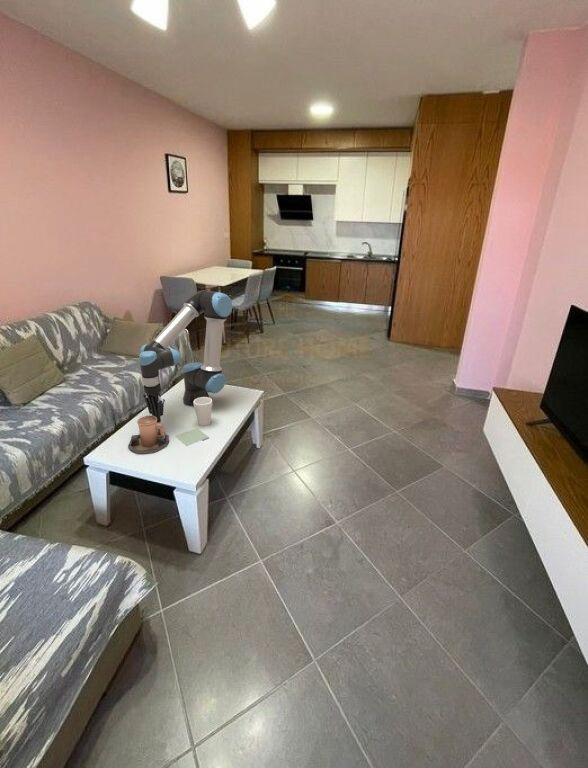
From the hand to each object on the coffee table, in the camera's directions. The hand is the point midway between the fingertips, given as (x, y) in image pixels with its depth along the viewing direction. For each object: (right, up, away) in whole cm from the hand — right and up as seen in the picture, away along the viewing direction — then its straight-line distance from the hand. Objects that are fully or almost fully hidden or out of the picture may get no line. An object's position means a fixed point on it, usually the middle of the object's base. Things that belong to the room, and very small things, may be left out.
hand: (158, 427), depth 180 cm
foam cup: (+20, +1, +11) cm, 23 cm away
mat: (+18, -5, -3) cm, 18 cm away
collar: (-1, -5, -7) cm, 8 cm away
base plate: (-1, -7, -9) cm, 12 cm away
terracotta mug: (+1, -6, -8) cm, 11 cm away
